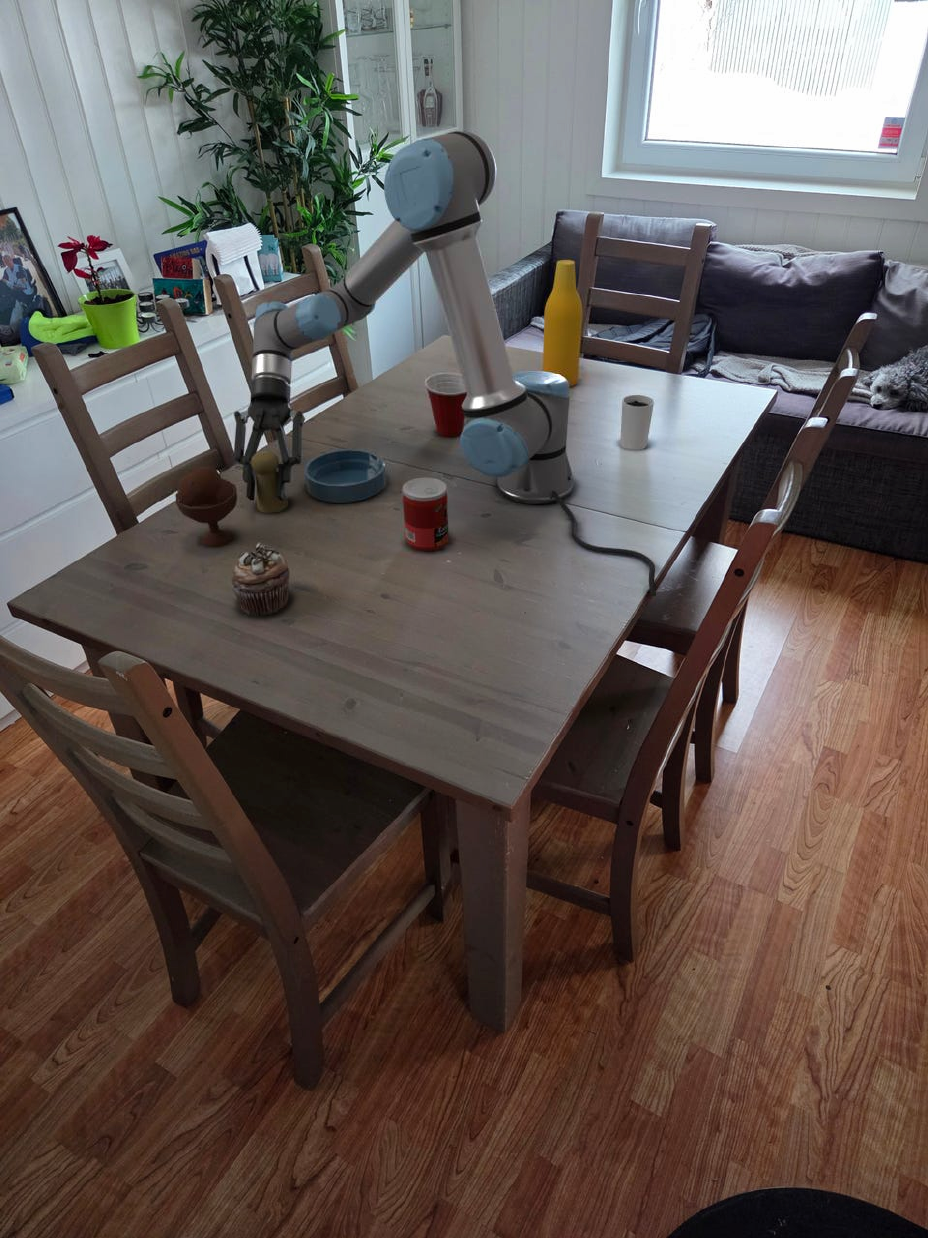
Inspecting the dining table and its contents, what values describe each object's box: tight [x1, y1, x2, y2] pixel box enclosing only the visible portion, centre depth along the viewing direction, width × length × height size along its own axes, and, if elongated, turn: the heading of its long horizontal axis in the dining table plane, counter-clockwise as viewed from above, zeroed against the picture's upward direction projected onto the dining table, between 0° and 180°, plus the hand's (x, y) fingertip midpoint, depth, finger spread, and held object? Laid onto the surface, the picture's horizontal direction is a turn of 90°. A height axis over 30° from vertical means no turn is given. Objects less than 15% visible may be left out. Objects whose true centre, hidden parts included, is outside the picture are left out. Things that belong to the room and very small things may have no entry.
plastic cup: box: [424, 372, 467, 438], centre depth 187 cm, size 11×11×12 cm
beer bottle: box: [541, 259, 583, 388], centre depth 205 cm, size 9×9×29 cm
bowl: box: [303, 448, 387, 504], centre depth 171 cm, size 16×16×4 cm
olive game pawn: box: [251, 450, 289, 514], centre depth 162 cm, size 6×6×11 cm
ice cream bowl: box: [174, 465, 238, 547], centre depth 151 cm, size 11×11×15 cm
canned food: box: [402, 477, 450, 552], centre depth 150 cm, size 8×8×11 cm
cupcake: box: [229, 542, 290, 617], centre depth 136 cm, size 10×10×10 cm
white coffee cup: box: [619, 394, 655, 451], centre depth 181 cm, size 7×7×10 cm
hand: (265, 498), depth 160 cm, fingers closed on olive game pawn, 5 cm apart
